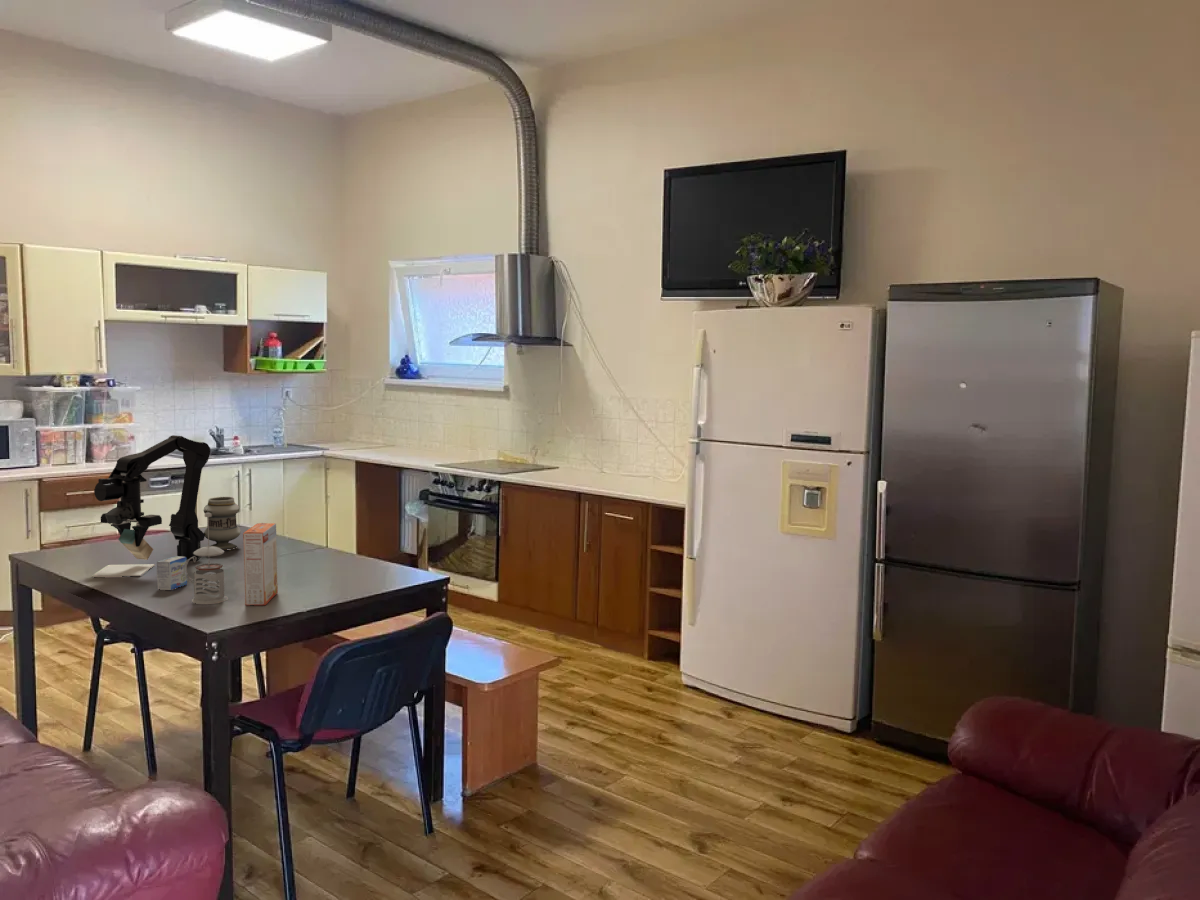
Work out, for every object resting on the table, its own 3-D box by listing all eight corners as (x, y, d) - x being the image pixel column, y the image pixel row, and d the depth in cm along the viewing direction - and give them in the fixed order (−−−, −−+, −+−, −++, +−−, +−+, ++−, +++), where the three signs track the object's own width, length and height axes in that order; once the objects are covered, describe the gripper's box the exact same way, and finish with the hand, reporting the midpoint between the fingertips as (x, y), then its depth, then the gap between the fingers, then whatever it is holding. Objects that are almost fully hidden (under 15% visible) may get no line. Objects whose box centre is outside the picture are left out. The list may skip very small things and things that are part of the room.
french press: (222, 604, 261) (220, 515, 259) (178, 604, 260) (176, 515, 258) (232, 595, 271) (231, 509, 269) (191, 595, 270) (189, 509, 268)
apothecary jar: (196, 550, 329) (195, 499, 327) (217, 544, 341) (217, 494, 339) (227, 552, 326) (226, 501, 325) (247, 546, 338) (246, 496, 336)
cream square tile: (154, 566, 305) (154, 564, 304) (140, 576, 290) (140, 575, 290) (108, 566, 302) (108, 564, 302) (91, 577, 287) (91, 575, 287)
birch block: (143, 548, 305) (124, 528, 296) (153, 549, 304) (135, 529, 295) (137, 558, 302) (118, 539, 294) (147, 559, 301) (128, 540, 293)
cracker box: (257, 593, 274) (256, 522, 272) (278, 593, 274) (277, 522, 272) (243, 606, 260) (242, 531, 258) (265, 606, 261) (264, 531, 258)
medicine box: (170, 591, 274) (169, 562, 273) (157, 590, 275) (156, 561, 274) (187, 585, 282) (187, 556, 281) (174, 583, 283) (173, 555, 282)
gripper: (85, 498, 290) (87, 548, 292) (136, 502, 285) (137, 553, 287) (113, 493, 301) (115, 541, 302) (162, 497, 296) (163, 546, 298)
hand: (132, 545), depth 297 cm, fingers closed on birch block, 4 cm apart
